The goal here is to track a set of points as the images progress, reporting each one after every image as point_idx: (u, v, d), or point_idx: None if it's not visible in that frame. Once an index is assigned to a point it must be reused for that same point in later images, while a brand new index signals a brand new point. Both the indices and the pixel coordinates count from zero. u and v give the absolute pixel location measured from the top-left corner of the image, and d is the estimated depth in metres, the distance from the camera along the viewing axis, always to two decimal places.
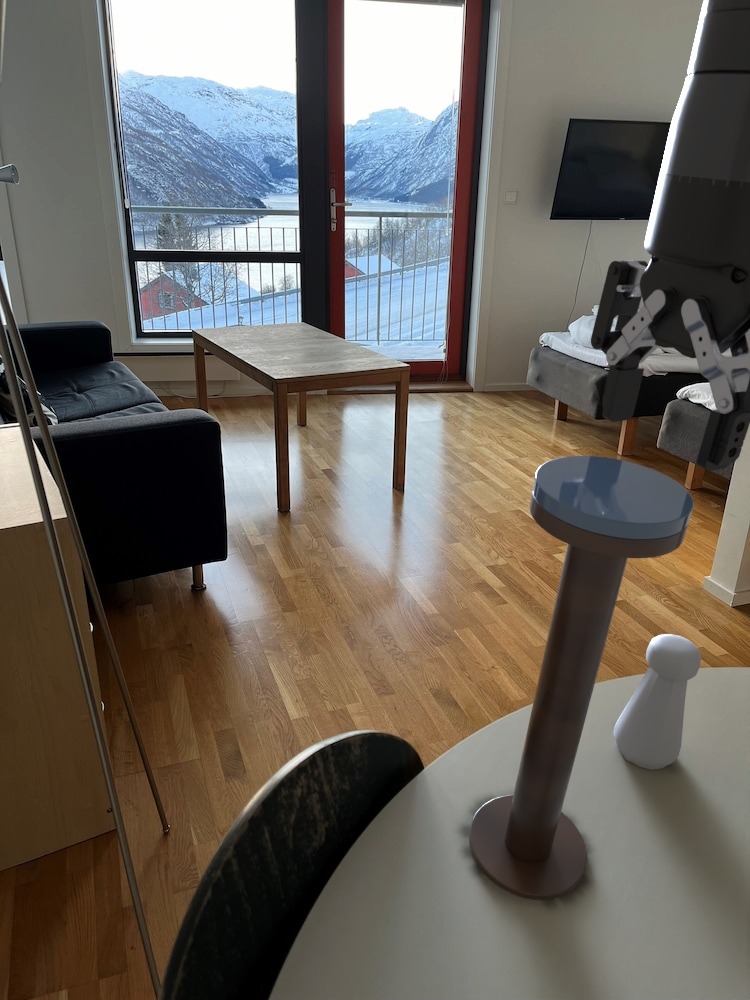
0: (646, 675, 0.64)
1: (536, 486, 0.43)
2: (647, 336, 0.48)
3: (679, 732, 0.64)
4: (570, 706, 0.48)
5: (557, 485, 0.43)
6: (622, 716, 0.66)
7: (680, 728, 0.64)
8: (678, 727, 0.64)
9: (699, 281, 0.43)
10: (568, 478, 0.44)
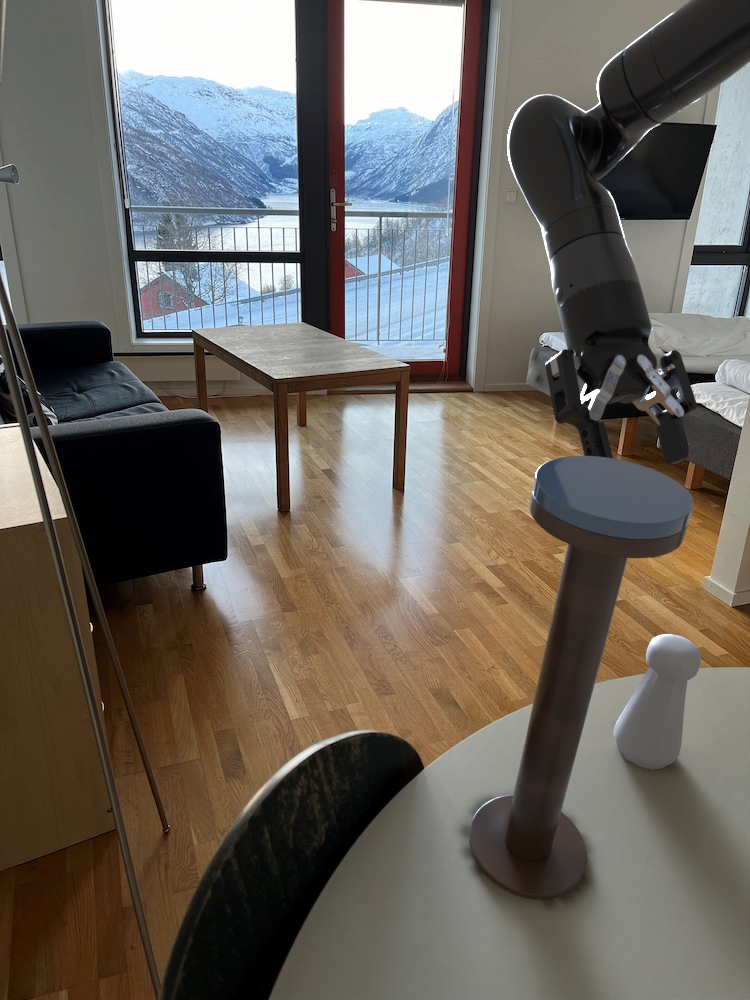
0: (646, 675, 0.64)
1: (536, 486, 0.43)
2: (647, 398, 0.68)
3: (679, 732, 0.64)
4: (570, 706, 0.48)
5: (557, 485, 0.43)
6: (622, 716, 0.66)
7: (680, 728, 0.64)
8: (678, 727, 0.64)
9: None
10: (568, 478, 0.44)
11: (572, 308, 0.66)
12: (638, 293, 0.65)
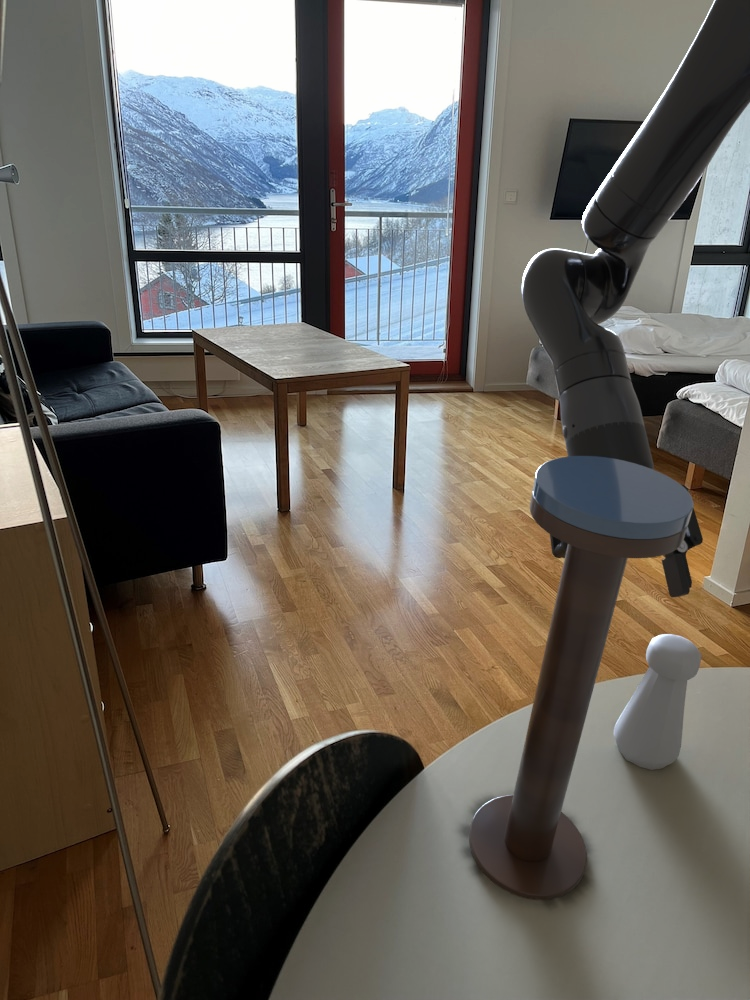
0: (646, 675, 0.64)
1: (536, 486, 0.43)
2: None
3: (679, 732, 0.64)
4: (570, 706, 0.48)
5: (557, 485, 0.43)
6: (622, 716, 0.66)
7: (680, 728, 0.64)
8: (678, 727, 0.64)
9: None
10: (568, 478, 0.44)
11: (574, 447, 0.70)
12: (637, 434, 0.68)
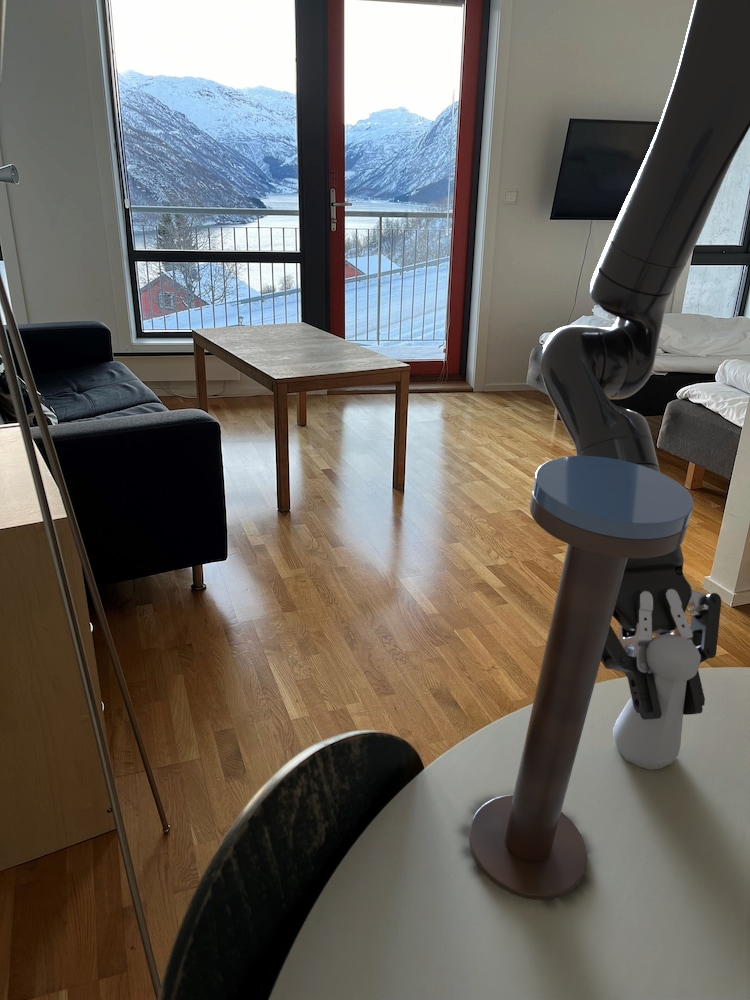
0: None
1: (536, 486, 0.43)
2: None
3: (678, 732, 0.64)
4: (570, 706, 0.48)
5: (557, 485, 0.43)
6: (621, 716, 0.66)
7: (679, 728, 0.64)
8: (678, 727, 0.64)
9: None
10: (568, 478, 0.44)
11: None
12: None
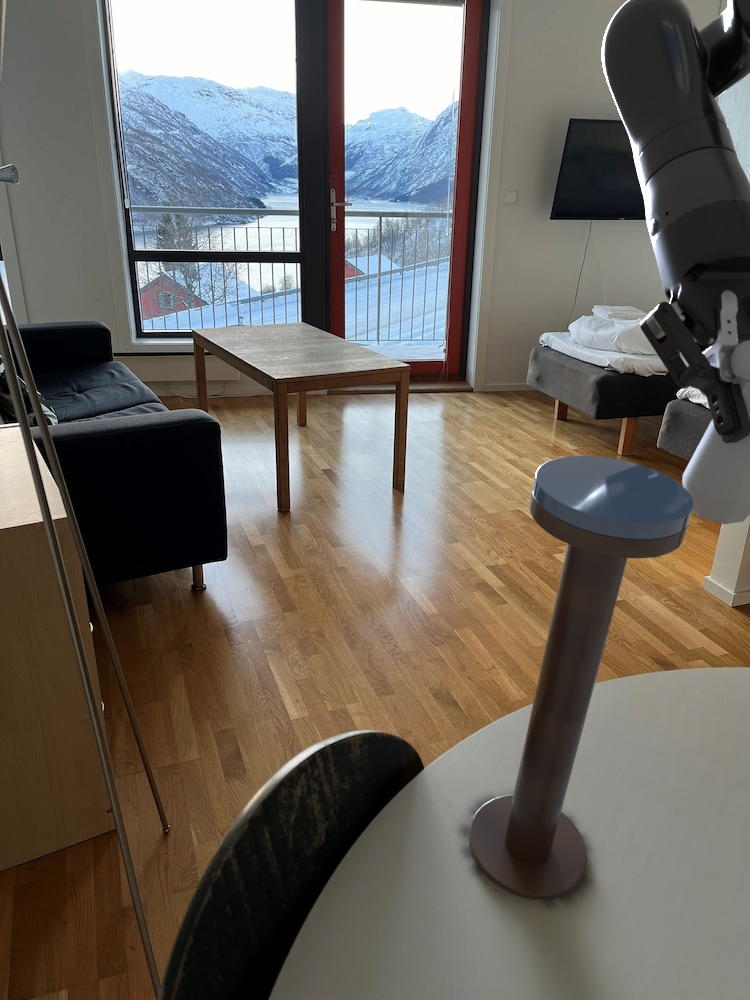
0: None
1: (536, 486, 0.43)
2: None
3: None
4: (570, 706, 0.48)
5: (557, 485, 0.43)
6: (694, 455, 0.55)
7: None
8: None
9: None
10: (568, 478, 0.44)
11: (668, 240, 0.55)
12: None
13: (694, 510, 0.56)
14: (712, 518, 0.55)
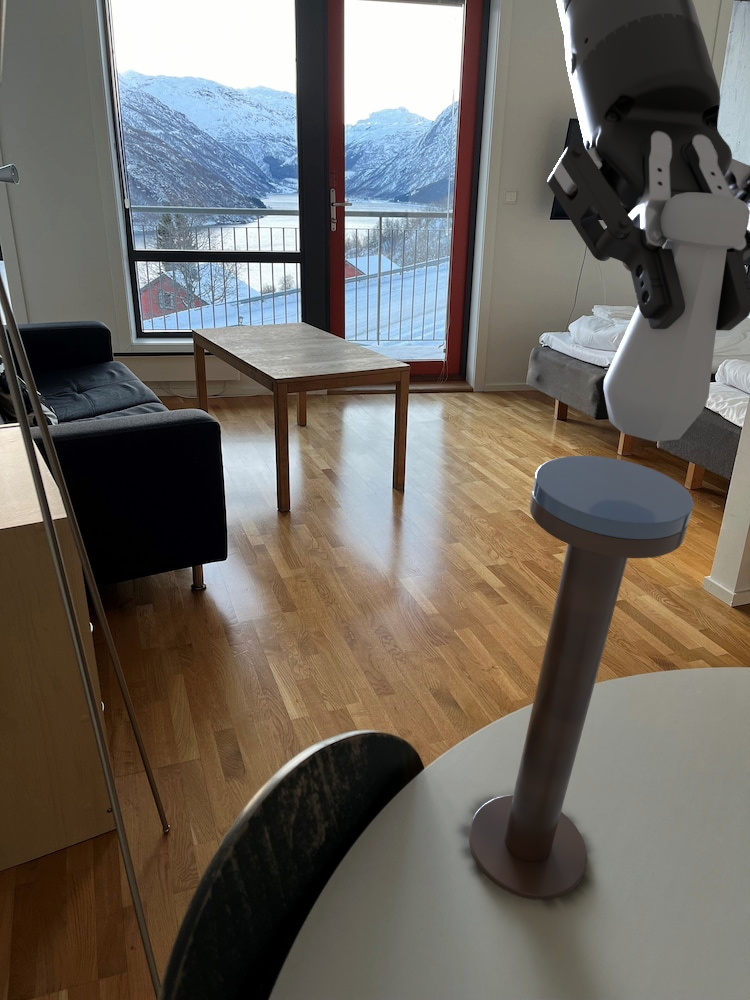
0: None
1: (536, 486, 0.43)
2: None
3: (708, 359, 0.40)
4: (570, 706, 0.48)
5: (557, 485, 0.43)
6: (618, 352, 0.42)
7: (710, 351, 0.40)
8: (708, 348, 0.40)
9: None
10: (568, 478, 0.44)
11: (587, 74, 0.42)
12: (695, 36, 0.40)
13: (617, 425, 0.43)
14: (639, 434, 0.42)
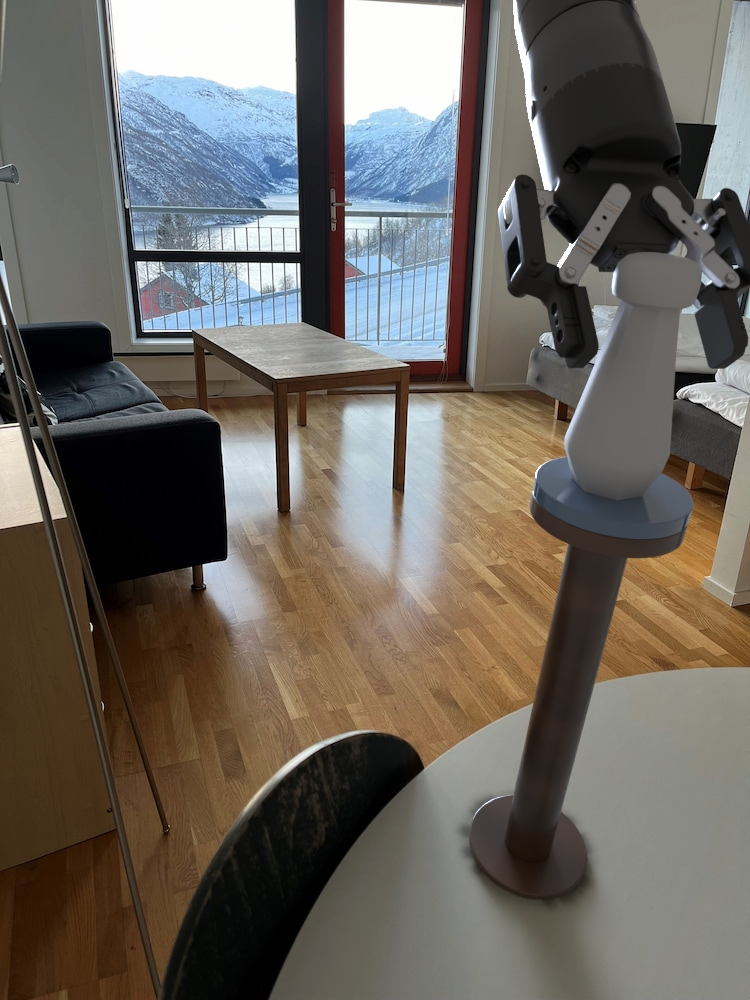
0: (613, 324, 0.39)
1: (536, 486, 0.43)
2: None
3: (667, 417, 0.40)
4: (570, 706, 0.48)
5: (557, 485, 0.43)
6: (577, 410, 0.42)
7: (669, 410, 0.39)
8: (666, 407, 0.39)
9: None
10: (568, 478, 0.44)
11: (546, 123, 0.41)
12: (654, 86, 0.40)
13: (580, 483, 0.43)
14: (601, 492, 0.42)
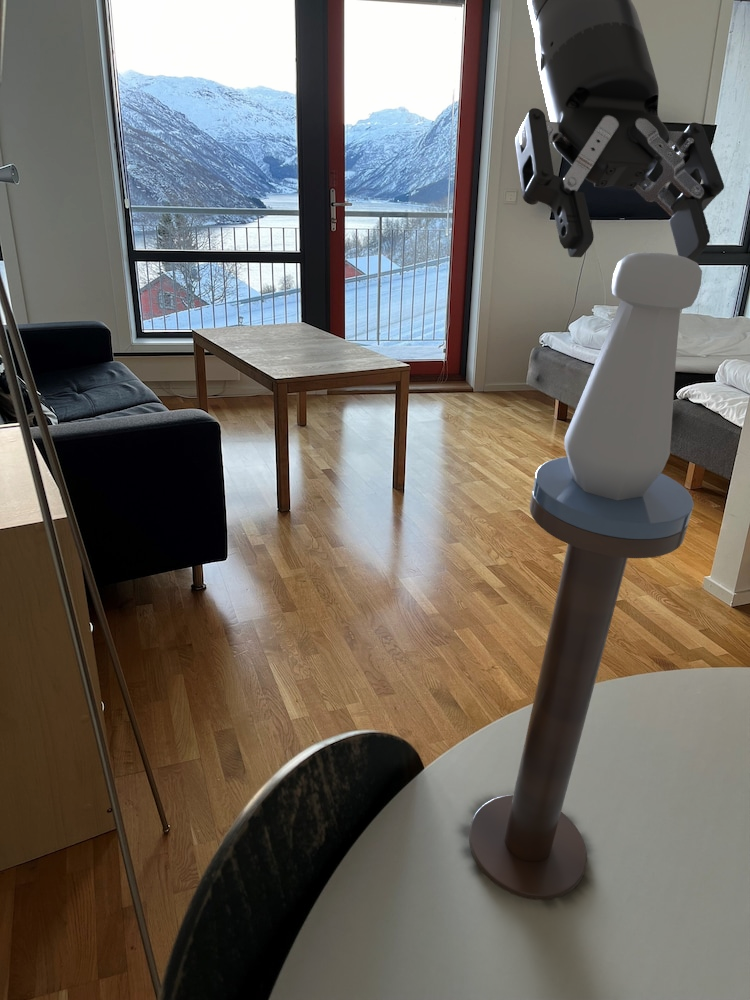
0: (613, 324, 0.39)
1: (536, 486, 0.43)
2: (655, 182, 0.52)
3: (667, 417, 0.40)
4: (570, 706, 0.48)
5: (557, 485, 0.43)
6: (577, 410, 0.42)
7: (669, 410, 0.39)
8: (666, 407, 0.39)
9: None
10: (568, 478, 0.44)
11: (553, 71, 0.53)
12: (637, 40, 0.51)
13: (580, 483, 0.43)
14: (601, 492, 0.42)
